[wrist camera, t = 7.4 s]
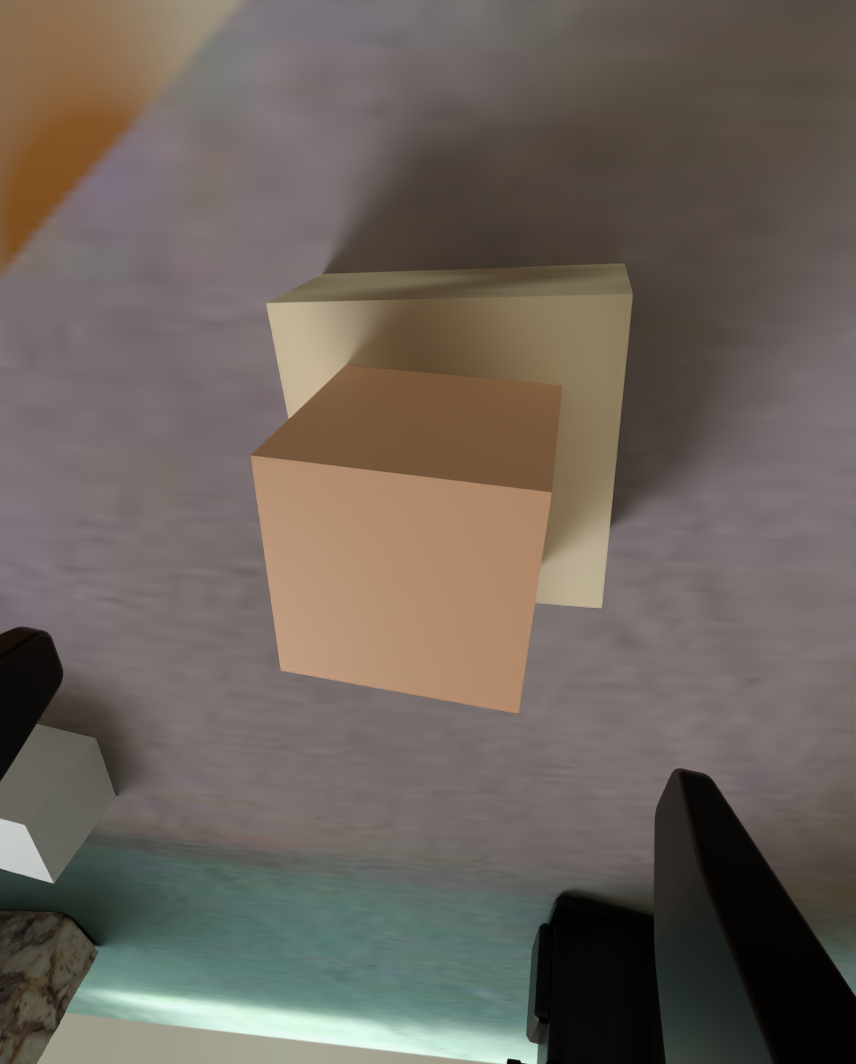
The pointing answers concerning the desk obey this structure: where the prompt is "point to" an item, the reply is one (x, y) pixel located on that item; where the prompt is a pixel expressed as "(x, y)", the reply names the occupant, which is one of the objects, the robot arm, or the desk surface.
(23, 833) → the light grey cube
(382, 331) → the birch block
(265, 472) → the tan cube
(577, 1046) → the robot arm
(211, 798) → the desk surface
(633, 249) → the desk surface
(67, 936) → the stone block
